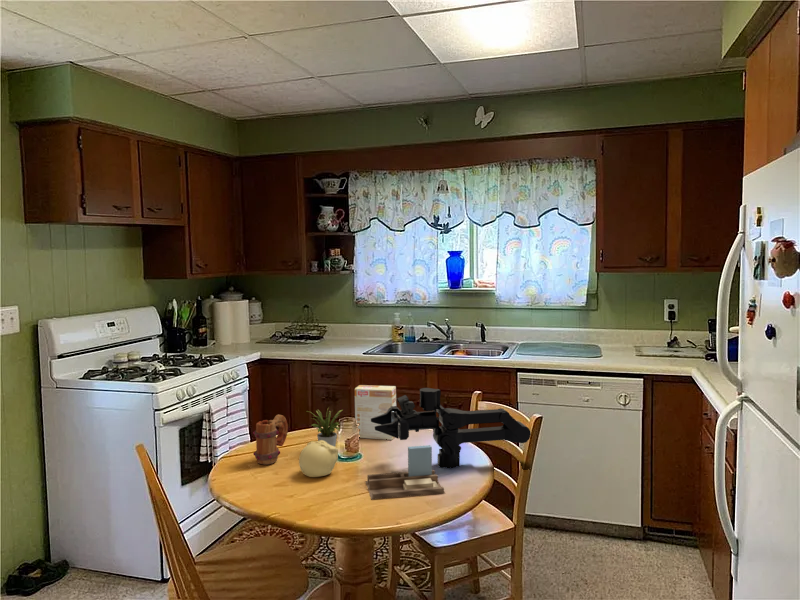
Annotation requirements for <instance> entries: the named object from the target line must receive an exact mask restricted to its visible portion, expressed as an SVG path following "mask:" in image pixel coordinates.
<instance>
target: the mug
mask: <svg viewBox="0 0 800 600" xmlns="http://www.w3.org/2000/svg"><path fill="white" fill-rule="evenodd" d="M277 427H278V429H277ZM288 429H289V425H288V421H287V419H286V416H285V415H282V414H276V415H275V416H274V418H273V419H270V420H268V419H263V420H261V421H258V422H256V424H255V430H254V431H253V432H252V434H253V435H254V437H255V443H256V444H255V445H256V446H255V447H256V450H255V451H253V456H254V457H255V459H256V462H257V464H261V465H264V466H265V465H268V466H269V465H272V464H274V463H276V462H277V461H278V457H279V455H280V454H281V450H280V449H279V447H283V446H284V444H285V442H286V439H287V436H288ZM277 446H278V447H277Z"/></svg>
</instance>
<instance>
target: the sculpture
mask: <svg viewBox="0 0 800 600" xmlns="http://www.w3.org/2000/svg"><path fill="white" fill-rule="evenodd" d="M338 454H339V448H338V447H336V445H335V446H332V445H330V444H328V443H327V442H326V441H324V440H320V441H318V440H317V441H310V442H307V444H306V445H305V446H304V448H302V450H301V452H300V454H299V458H298V465H299V468H300V471H301V473H302V474H304V475H305V476H306V477H310V478H320V477H323V476H327V475H330V474H331V473H332V471H333V470H334V469H335V465H336V463H337V462H338V459H339V458H338V457H339V455H338Z"/></svg>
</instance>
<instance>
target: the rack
mask: <svg viewBox="0 0 800 600" xmlns="http://www.w3.org/2000/svg"><path fill="white" fill-rule="evenodd" d="M435 473H436V471H435V469H432V475H423V476H410V477H408V471H402V472H401V471H399V472H398V471H397V472H388V473H375V474H367V476H366V477H367V479H366V481H364V482H365V484H366V487H367V491H368V494H369V497H370V499H371V500H381V499H382V500H383V499H392V498H394V499H395V498H406V497H416V496H417V497H418V496H419V497H420V496H429V495H439V494H441V495H442V494H443V495H444V494H446V491H445V488H444V487H443V486H442V485H441V484H440V482H439V475H438V474H435ZM425 478H431V480H432V482H433V481H436V483H437V485H438V486H439V487H434V488H422V489H410V490H404V489H403V484H404V480H413V479H425Z"/></svg>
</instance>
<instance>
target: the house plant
mask: <svg viewBox="0 0 800 600" xmlns="http://www.w3.org/2000/svg"><path fill="white" fill-rule="evenodd" d="M342 411H344V409H341V410H338V411H337V413H335V415H334V416H333V417H332V419H331V416H332V414H331V413H332V411H331V410H330V406H328V408H327V410H326V416H325V419H324V418H323V414H322V412H321V411H320V410H319V409H316V414H317V415H318V416H317V415H314V413H313V412H312V411H308V410H307V413H311V414H312V415H314V417H315V418H314V417H313V418H310V419H313V420H315V421H316V423H317V424H316V423H312V424H311V427H312V426H313V427H315V428H316V429H317V434H316V435H317V436H316V437H317V441H320V440H324V441H326V442H327V443H328V444H330V445H332V446H335V447H336V445H337V437H338V434H337V432H335V431H336V430H337V431H340V430H339V429H340V427H339V425H340V423H339V422H340V421H337V422H335V420H336V419H337V418H338V417H339V416H340V413H341V412H342Z"/></svg>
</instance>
